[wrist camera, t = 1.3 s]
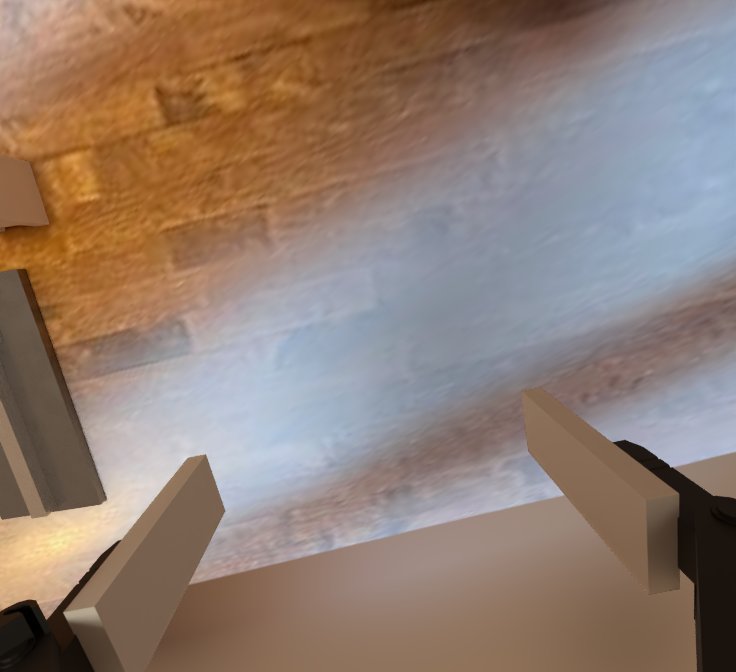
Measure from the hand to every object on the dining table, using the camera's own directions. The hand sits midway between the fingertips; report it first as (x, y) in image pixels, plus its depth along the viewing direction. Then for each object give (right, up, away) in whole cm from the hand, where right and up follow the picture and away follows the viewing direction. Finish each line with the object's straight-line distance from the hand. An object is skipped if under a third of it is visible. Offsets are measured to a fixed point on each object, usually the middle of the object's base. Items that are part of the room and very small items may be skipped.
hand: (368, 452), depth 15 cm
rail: (-40, -3, +27) cm, 48 cm away
